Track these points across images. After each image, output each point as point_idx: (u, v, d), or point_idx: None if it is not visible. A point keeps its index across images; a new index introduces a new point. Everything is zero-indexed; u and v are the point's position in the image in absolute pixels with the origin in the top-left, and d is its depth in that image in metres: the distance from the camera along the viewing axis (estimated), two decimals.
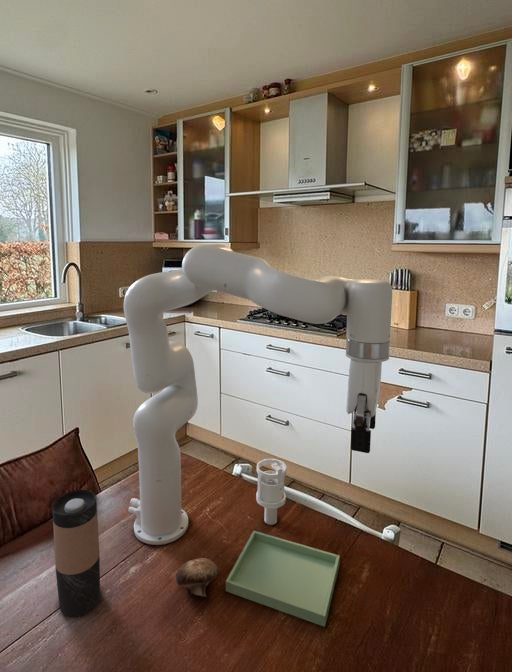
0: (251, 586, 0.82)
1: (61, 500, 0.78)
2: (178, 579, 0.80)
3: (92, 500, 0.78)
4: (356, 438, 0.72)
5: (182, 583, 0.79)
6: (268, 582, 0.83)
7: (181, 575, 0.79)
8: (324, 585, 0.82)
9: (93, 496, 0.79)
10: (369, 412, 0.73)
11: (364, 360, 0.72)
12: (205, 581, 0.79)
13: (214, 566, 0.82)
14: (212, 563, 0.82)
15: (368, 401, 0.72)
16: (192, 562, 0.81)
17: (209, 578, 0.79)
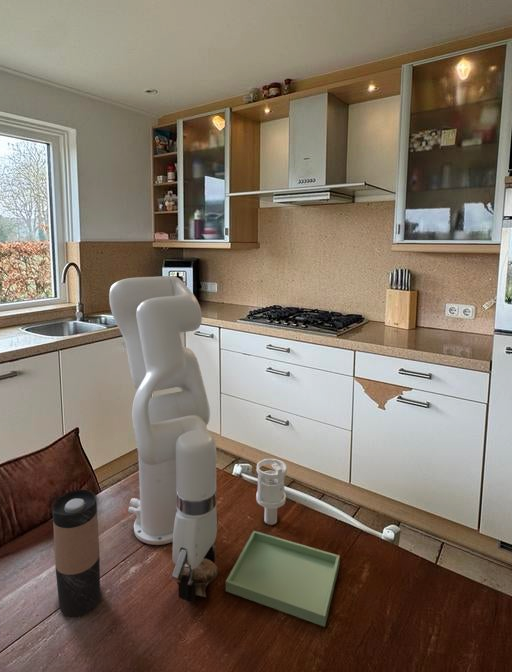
0: (251, 586, 0.82)
1: (61, 500, 0.78)
2: None
3: (92, 500, 0.78)
4: (181, 589, 0.77)
5: None
6: (268, 582, 0.83)
7: None
8: (324, 585, 0.82)
9: (93, 496, 0.79)
10: None
11: (186, 515, 0.76)
12: (205, 581, 0.79)
13: (214, 566, 0.82)
14: (212, 563, 0.82)
15: (188, 556, 0.76)
16: None
17: (209, 578, 0.79)
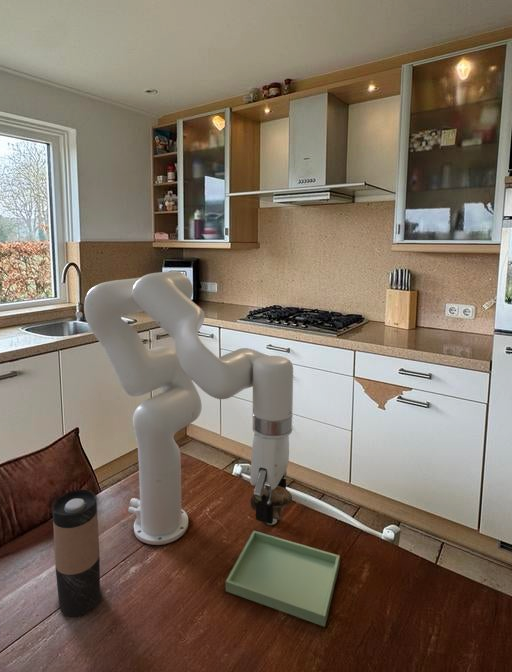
0: (251, 586, 0.82)
1: (61, 500, 0.78)
2: (254, 503, 0.80)
3: (92, 500, 0.78)
4: (259, 510, 0.77)
5: None
6: (268, 582, 0.83)
7: None
8: (324, 585, 0.82)
9: (93, 496, 0.79)
10: (271, 486, 0.77)
11: (265, 436, 0.77)
12: (282, 504, 0.79)
13: (288, 492, 0.82)
14: (286, 489, 0.82)
15: (268, 475, 0.76)
16: None
17: (285, 502, 0.79)
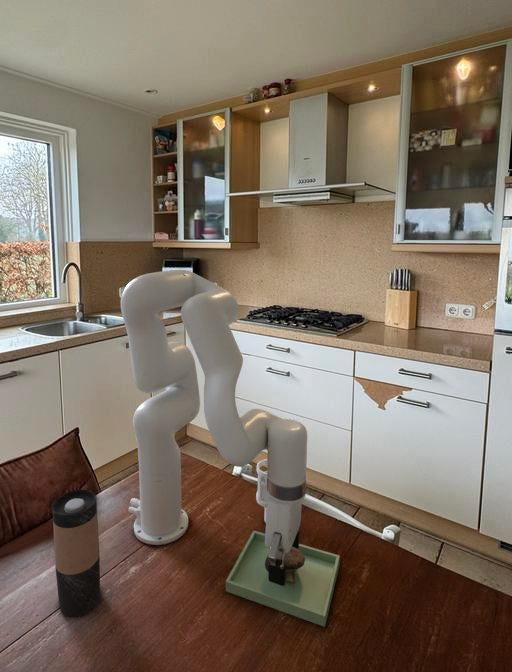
0: (251, 586, 0.82)
1: (61, 500, 0.78)
2: None
3: (92, 500, 0.78)
4: (272, 572, 0.79)
5: None
6: (268, 582, 0.83)
7: None
8: (324, 585, 0.82)
9: (93, 496, 0.79)
10: None
11: (280, 501, 0.79)
12: (296, 568, 0.81)
13: (301, 554, 0.84)
14: (299, 551, 0.85)
15: (282, 540, 0.78)
16: None
17: (299, 565, 0.82)
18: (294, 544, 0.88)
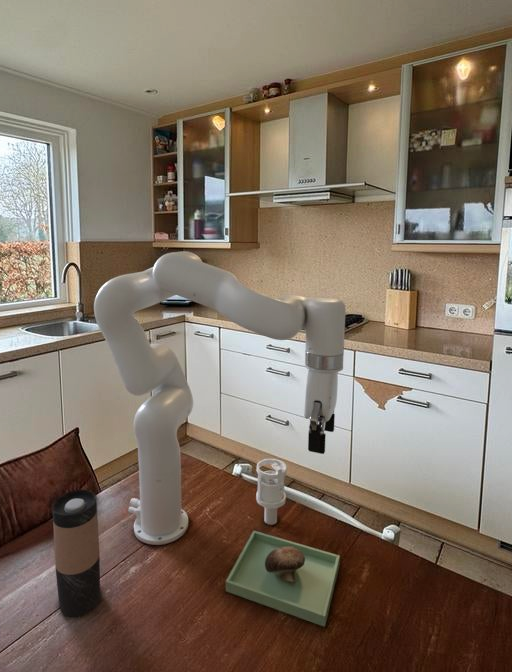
0: (251, 586, 0.82)
1: (61, 500, 0.78)
2: (269, 566, 0.82)
3: (92, 500, 0.78)
4: (312, 440, 0.81)
5: (273, 570, 0.81)
6: (268, 582, 0.83)
7: (272, 562, 0.82)
8: (324, 585, 0.82)
9: (93, 496, 0.79)
10: (324, 417, 0.81)
11: (319, 371, 0.81)
12: (296, 568, 0.81)
13: (301, 554, 0.84)
14: (299, 551, 0.85)
15: (322, 407, 0.80)
16: (281, 550, 0.83)
17: (299, 565, 0.81)
18: (330, 426, 0.90)
